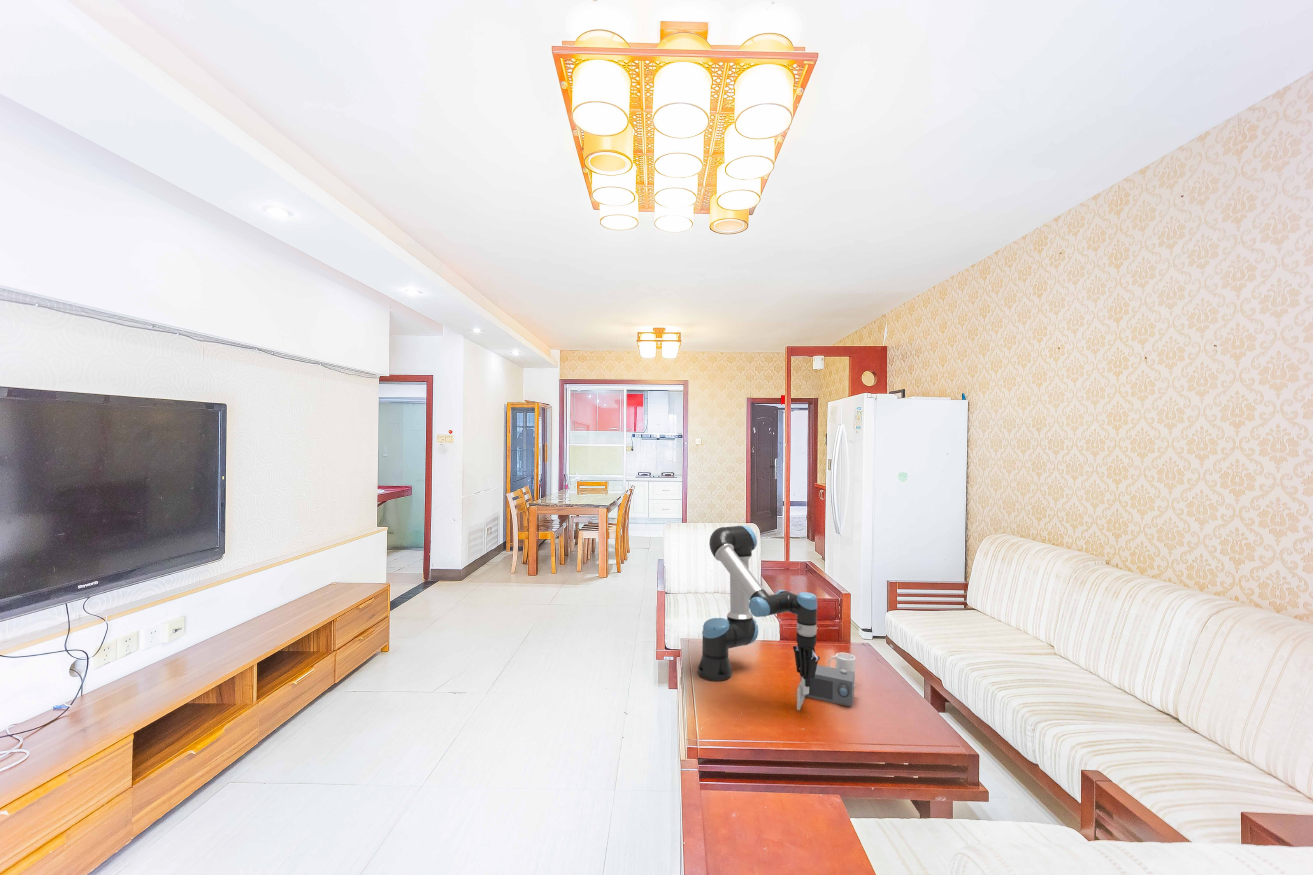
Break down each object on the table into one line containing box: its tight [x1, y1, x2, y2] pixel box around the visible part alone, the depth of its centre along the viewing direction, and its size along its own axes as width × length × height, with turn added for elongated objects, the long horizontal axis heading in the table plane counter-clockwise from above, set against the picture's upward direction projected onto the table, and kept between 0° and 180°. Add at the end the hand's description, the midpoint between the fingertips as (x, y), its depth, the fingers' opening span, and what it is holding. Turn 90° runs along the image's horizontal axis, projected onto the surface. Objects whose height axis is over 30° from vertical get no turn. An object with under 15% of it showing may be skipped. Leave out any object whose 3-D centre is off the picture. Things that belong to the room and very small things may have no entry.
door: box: [794, 681, 806, 711], centre depth 215 cm, size 12×2×8 cm, turn 154°
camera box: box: [805, 664, 856, 708], centre depth 221 cm, size 20×12×11 cm, turn 65°
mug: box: [828, 652, 856, 688], centre depth 234 cm, size 12×8×12 cm
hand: (805, 693), depth 211 cm, fingers closed
